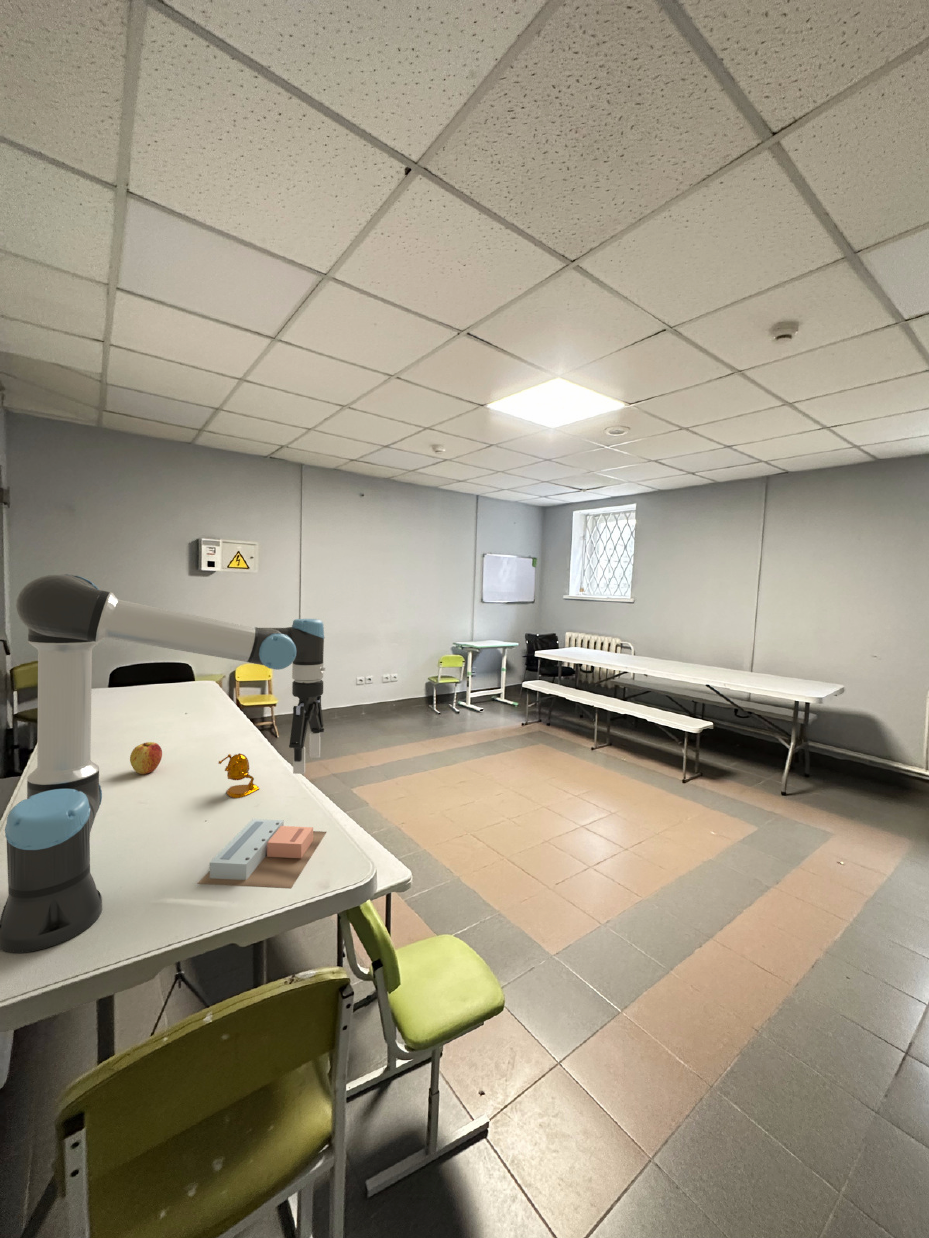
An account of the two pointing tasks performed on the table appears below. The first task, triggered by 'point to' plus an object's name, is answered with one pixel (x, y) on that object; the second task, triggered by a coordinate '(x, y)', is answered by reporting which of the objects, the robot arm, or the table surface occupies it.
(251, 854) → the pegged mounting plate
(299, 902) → the table surface
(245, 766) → the figurine
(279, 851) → the stub
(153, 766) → the apple
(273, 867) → the backing board
